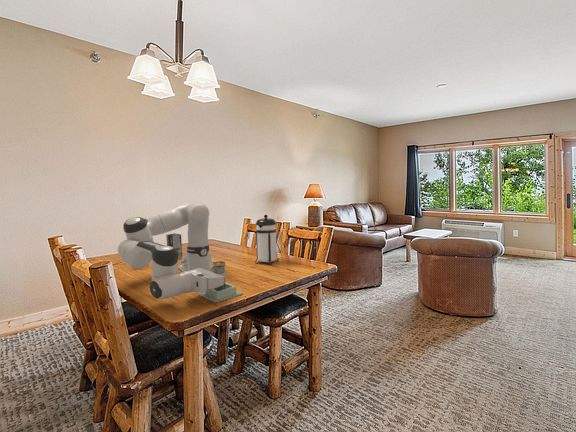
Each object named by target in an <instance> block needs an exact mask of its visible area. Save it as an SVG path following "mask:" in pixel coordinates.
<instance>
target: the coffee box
mask: <svg viewBox="0 0 576 432" xmlns="http://www.w3.org/2000/svg"><path fill="white" fill-rule="evenodd" d="M165 237H166V246H171V247H174V248H175V249H176V250H177V251H178V253H179V256H178V260H182V257H183V245H182V242H183V241H182V234H181V233H180V234H179V233H169V234H166V236H165Z"/></svg>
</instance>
